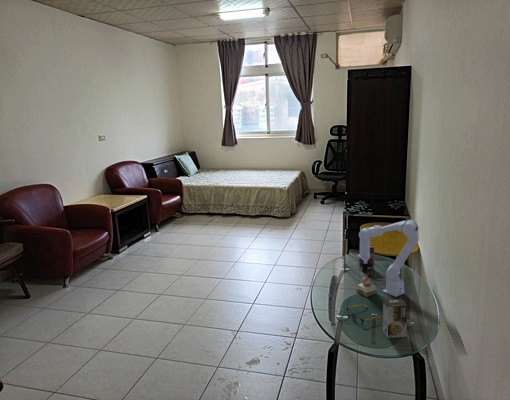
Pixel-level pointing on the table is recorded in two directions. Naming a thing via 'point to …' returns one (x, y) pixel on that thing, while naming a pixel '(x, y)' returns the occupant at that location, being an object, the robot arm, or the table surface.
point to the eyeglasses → (359, 317)
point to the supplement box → (369, 258)
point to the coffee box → (394, 318)
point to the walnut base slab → (365, 292)
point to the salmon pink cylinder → (366, 282)
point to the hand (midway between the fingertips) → (364, 270)
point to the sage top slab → (366, 288)
